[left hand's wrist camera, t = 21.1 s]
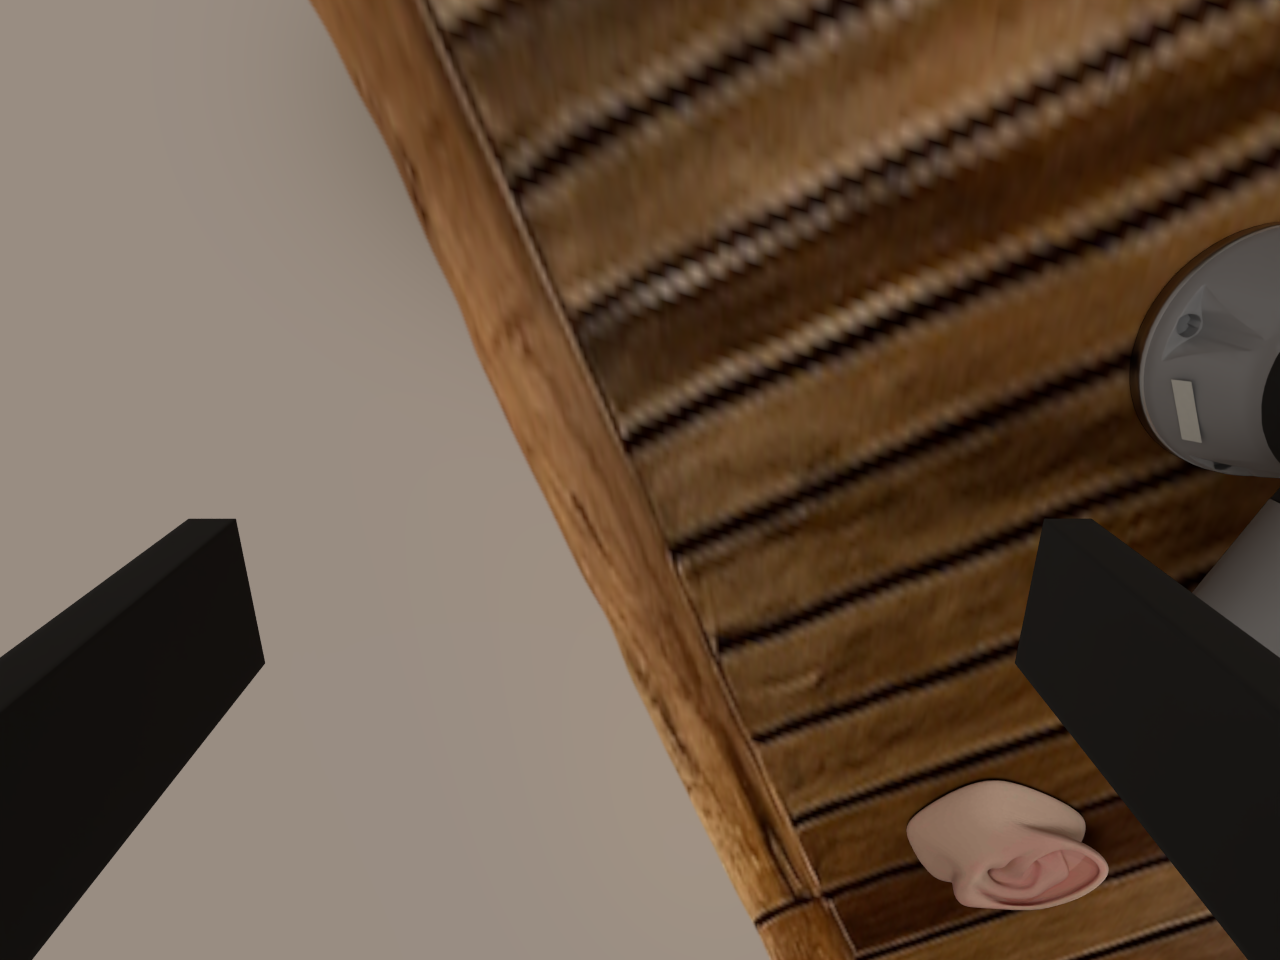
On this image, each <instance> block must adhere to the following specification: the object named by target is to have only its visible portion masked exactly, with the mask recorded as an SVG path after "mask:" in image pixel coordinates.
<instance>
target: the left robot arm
mask: <svg viewBox="0 0 1280 960" xmlns="http://www.w3.org/2000/svg"><path fill="white" fill-rule="evenodd" d="M1130 388H1131V396H1132V400H1133V404H1134V407H1135V410H1136V413H1137V415H1138V417H1139V419H1140V421H1141V423H1142V425H1143V426H1144V428H1145V429H1146V431H1147V432H1148V434H1149V435H1150V436H1151V437H1152V438H1153V439H1154V440H1155V441H1156V442H1157V443H1158V444H1159V445H1160V446H1162V447H1163V448H1164V449H1166V450H1167V451H1169V452H1170V453H1172V454H1174V455H1176V456H1178V457H1180V458H1182V459H1184V460H1186V461H1188V462H1190V463H1192V464H1194V465H1196V466H1199V467H1202V468H1205V469H1209V470H1212V471H1216V472H1220V473H1224V474H1231V475H1241V476H1257V477H1270V478H1280V222H1274V223H1267V224H1263V225H1259V226H1255V227H1252V228H1249V229H1246V230H1243V231H1240V232H1238V233H1235V234H1233V235H1231V236H1229V237H1227V238H1225V239H1223V240H1221V241H1219V242H1217V243H1215V244H1214V245H1212V246H1211V247H1209V248H1208V249H1206V250H1204V251H1203V252H1202V253H1200V254H1199V255H1198V256H1196V257H1195V258H1194V259H1192V260H1191V261H1190V262H1189V263H1188V264H1187V265H1185V266H1184V267H1183V268H1182V269H1181V270H1180V271H1179V272H1178V273H1177V274H1176V275H1175V276H1174V277H1173V278H1172V279H1171V280H1170V282H1169V283H1168V284H1167V285H1166V286H1165V288H1164V289H1163V290H1162V291H1161V293H1160V294H1159V295H1158V297H1157V298H1156V300H1155V301H1154V303H1153V304H1152V306H1151V308H1150V309H1149V311H1148V313H1147V315H1146V317H1145V319H1144V321H1143V323H1142V325H1141V327H1140V330H1139V333H1138V335H1137V338H1136V341H1135V345H1134V348H1133V353H1132V358H1131V366H1130ZM264 664H265V660H264V655H263V650H262V645H261V641H260V635H259V631H258V626H257V621H256V616H255V611H254V606H253V601H252V596H251V591H250V586H249V581H248V576H247V571H246V567H245V562H244V557H243V552H242V547H241V542H240V537H239V532H238V527H237V522H236V519H188V520H186V521H185V522H184V523H182V524H181V525H180V526H178V527H177V528H176V529H174V530H173V531H171V532H170V533H169V534H167V535H166V536H165V537H163V538H162V539H161V540H159V541H158V542H156V543H155V544H154V545H152V546H151V547H150V548H148V549H147V550H146V551H144V552H143V553H142V554H140V555H139V556H137V557H136V558H135V559H133V560H132V561H131V562H129V563H128V564H127V565H125V566H124V567H123V568H121V569H120V570H119V571H117V572H116V573H114V574H113V575H112V576H110V577H109V578H108V579H106V580H105V581H104V582H102V583H101V584H100V585H98V586H97V587H95V588H94V589H93V590H91V591H90V592H89V593H87V594H86V595H85V596H83V597H82V598H80V599H79V600H78V601H76V602H75V603H74V604H72V605H71V606H70V607H68V608H67V609H66V610H64V611H63V612H61V613H60V614H59V615H57V616H56V617H55V618H53V619H52V620H51V621H49V622H48V623H47V624H45V625H44V626H42V627H41V628H40V629H38V630H37V631H36V632H34V633H33V634H32V635H30V636H29V637H28V638H26V639H25V640H23V641H22V642H21V643H19V644H18V645H17V646H15V647H14V648H13V649H11V650H10V651H8V652H7V653H6V654H4V655H3V656H2V657H0V960H32V959H33V958H34V957H35V955H36V954H37V953H38V951H39V950H40V949H41V948H42V946H43V945H44V944H45V943H46V941H47V940H48V939H49V937H50V936H51V935H52V934H53V932H54V931H55V930H56V929H57V927H58V926H59V925H60V923H61V922H62V921H63V920H64V918H65V917H66V916H67V915H68V913H69V912H70V911H71V910H72V908H73V907H74V906H75V904H76V903H77V902H78V901H79V899H80V898H81V897H82V895H83V894H84V893H85V892H86V890H87V889H88V888H89V887H90V885H91V884H92V883H93V882H94V880H95V879H96V878H97V876H98V875H99V874H100V873H101V871H102V870H103V869H104V868H105V866H106V865H107V864H108V862H109V861H110V860H111V859H112V857H113V856H114V855H115V854H116V852H117V851H118V850H119V848H120V847H121V846H122V845H123V843H124V842H125V841H126V839H127V838H128V837H129V836H130V834H131V833H132V832H133V831H134V829H135V828H136V827H137V826H138V824H139V823H140V822H141V820H142V819H143V818H144V817H145V815H146V814H147V813H148V812H149V810H150V809H151V808H152V806H153V805H154V804H155V803H156V801H157V800H158V799H159V798H160V796H161V795H162V794H163V792H164V791H165V790H166V789H167V787H168V786H169V785H170V784H171V782H172V781H173V780H174V778H175V777H176V776H177V775H178V773H179V772H180V771H181V770H182V768H183V767H184V766H185V764H186V763H187V762H188V761H189V759H190V758H191V757H192V756H193V754H194V753H195V752H196V751H197V749H198V748H199V747H200V745H201V744H202V743H203V742H204V740H205V739H206V738H207V736H208V735H209V734H210V733H211V731H212V730H213V729H214V728H215V726H216V725H217V724H218V722H219V721H220V720H221V719H222V717H223V716H224V715H225V714H226V712H227V711H228V710H229V708H230V707H231V706H232V705H233V703H234V702H235V701H236V700H237V698H238V697H239V696H240V695H241V693H242V692H243V691H244V689H245V688H246V687H247V686H248V684H249V683H250V682H251V681H252V679H253V678H254V677H255V675H256V674H257V673H258V672H259V670H260V669H261V668H262V667H263V665H264ZM1015 664H1016V665H1017V667H1018V668H1019V669H1020V670H1021V672H1022V673H1023V674H1024V675H1025V677H1026V678H1027V679H1028V681H1029V682H1030V683H1031V684H1032V686H1033V687H1034V688H1035V689H1036V691H1037V692H1038V693H1039V695H1040V696H1041V697H1042V698H1043V700H1044V701H1045V702H1046V703H1047V705H1048V706H1049V707H1050V709H1051V710H1052V711H1053V712H1054V714H1055V715H1056V716H1057V717H1058V719H1059V720H1060V721H1061V723H1062V724H1063V725H1064V726H1065V728H1066V729H1067V730H1068V731H1069V733H1070V734H1071V735H1072V737H1073V738H1074V739H1075V740H1076V742H1077V743H1078V744H1079V745H1080V747H1081V748H1082V749H1083V751H1084V752H1085V753H1086V754H1087V756H1088V757H1089V758H1090V759H1091V761H1092V762H1093V763H1094V765H1095V766H1096V767H1097V768H1098V770H1099V771H1100V772H1101V773H1102V775H1103V776H1104V777H1105V778H1106V780H1107V781H1108V782H1109V784H1110V785H1111V786H1112V787H1113V789H1114V790H1115V791H1116V792H1117V794H1118V795H1119V796H1120V798H1121V799H1122V800H1123V801H1124V803H1125V804H1126V805H1127V806H1128V808H1129V809H1130V810H1131V812H1132V813H1133V814H1134V815H1135V817H1136V818H1137V819H1138V820H1139V822H1140V823H1141V824H1142V826H1143V827H1144V828H1145V829H1146V831H1147V832H1148V833H1149V834H1150V836H1151V837H1152V838H1153V840H1154V841H1155V842H1156V843H1157V845H1158V846H1159V847H1160V848H1161V850H1162V851H1163V852H1164V854H1165V855H1166V856H1167V857H1168V859H1169V860H1170V861H1171V862H1172V864H1173V865H1174V866H1175V868H1176V869H1177V870H1178V871H1179V873H1180V874H1181V875H1182V876H1183V878H1184V879H1185V880H1186V882H1187V883H1188V884H1189V885H1190V887H1191V888H1192V889H1193V890H1194V892H1195V893H1196V894H1197V896H1198V897H1199V898H1200V899H1201V901H1202V902H1203V903H1204V904H1205V906H1206V907H1207V908H1208V910H1209V911H1210V912H1211V913H1212V915H1213V916H1214V917H1215V918H1216V920H1217V921H1218V922H1219V923H1220V925H1221V926H1222V927H1223V929H1224V930H1225V931H1226V932H1227V934H1228V935H1229V936H1230V937H1231V939H1232V940H1233V941H1234V943H1235V944H1236V945H1237V946H1238V948H1239V949H1240V950H1241V951H1242V953H1243V954H1244V955H1245V957H1246V958H1247V959H1248V960H1280V488H1279V489H1278V490H1277V491H1276V493H1275V494H1274V495H1273V496H1272V497H1271V498H1270V499H1269V500H1268V501H1267V502H1266V504H1265V505H1264V506H1263V507H1262V508H1261V510H1260V511H1259V512H1258V513H1257V514H1256V516H1255V517H1254V518H1253V519H1252V521H1251V522H1250V523H1249V524H1248V525H1247V527H1246V528H1245V529H1244V530H1243V531H1242V533H1241V534H1240V535H1239V536H1238V538H1237V539H1236V540H1235V541H1234V542H1233V544H1232V545H1231V546H1230V547H1229V548H1228V550H1227V551H1226V552H1225V553H1224V554H1223V556H1222V557H1221V558H1220V559H1219V561H1218V562H1217V563H1216V564H1215V565H1214V567H1213V568H1212V569H1211V570H1210V571H1209V573H1208V574H1207V575H1206V576H1205V577H1204V579H1203V580H1202V581H1201V582H1200V584H1199V585H1198V586H1197V587H1196V588H1195V590H1194V591H1193V592H1192V593H1191V592H1190V591H1189V590H1187V589H1186V588H1185V587H1183V586H1182V585H1181V584H1179V583H1178V582H1176V581H1175V580H1174V579H1172V578H1171V577H1170V576H1168V575H1167V574H1166V573H1164V572H1163V571H1162V570H1160V569H1159V568H1157V567H1156V566H1155V565H1153V564H1152V563H1151V562H1149V561H1148V560H1147V559H1145V558H1144V557H1143V556H1141V555H1140V554H1138V553H1137V552H1136V551H1134V550H1133V549H1132V548H1130V547H1129V546H1128V545H1126V544H1125V543H1124V542H1122V541H1121V540H1119V539H1118V538H1117V537H1115V536H1114V535H1113V534H1111V533H1110V532H1109V531H1107V530H1106V529H1104V528H1103V527H1102V526H1100V525H1099V524H1098V523H1096V522H1095V521H1094V520H1092V519H1044V522H1043V527H1042V532H1041V537H1040V542H1039V547H1038V552H1037V557H1036V562H1035V567H1034V571H1033V576H1032V581H1031V586H1030V591H1029V596H1028V601H1027V606H1026V611H1025V616H1024V621H1023V626H1022V631H1021V635H1020V640H1019V645H1018V650H1017V655H1016V660H1015Z"/></svg>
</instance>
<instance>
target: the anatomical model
mask: <svg viewBox="0 0 1280 960" xmlns="http://www.w3.org/2000/svg"><path fill="white" fill-rule="evenodd" d="M1085 830H1086V825H1085V821H1084V819H1083V817H1082V816H1081V815H1080V814H1079V813H1078V812H1077V811H1075V810H1074V809H1072V808H1071V807H1069V806H1068V805H1066V804H1064V803H1063V802H1061V801H1059V800H1057V799H1055V798H1053V797H1050V796H1048V795H1046V794H1043V793H1041V792H1039V791H1036V790H1034V789H1031V788H1028V787H1025V786H1022V785H1019V784H1015V783H1011V782H1006V781H998V780H991V781H982V782H977V783H974V784H970V785H967V786H965V787H962V788H959V789H957V790H955V791H953V792H951V793H949V794H947V795H945V796H943V797H941V798H940V799H938V800H936V801H935V802H933V803H931V804H930V805H928V806H927V807H925V808H924V809H923V810H921V811H920V812H919V813H917V814H916V815H915V816H914V817H913V818H912V819H911V820H910V822H909V824H908V826H907V836H908V839H909V842H910V844H911V846H912V848H913V850H914V852H915V853H916V855H917V857H918V859H919V860H920V862H921V863H922V864H923V866H924V867H925V868H926V869H927V870H928V871H929V872H930V873H931V874H932V875H933V876H934V877H936V878H938V879H940V880H943V881H947V882H952V884H953V890H954V894H955V897H956V898H957V900H958V901H959V902H960V903H961V904H963V905H965V906H969V907H978V908H994V909H1010V910H1034V909H1043V908H1049V907H1052V906H1056V905H1060V904H1063V903H1066V902H1069V901H1072V900H1075V899H1077V898H1079V897H1081V896H1083V895H1085V894H1087V893H1089V892H1090V891H1092V890H1093V889H1095V888H1096V887H1097V886H1098V885H1100V884H1101V883H1102V882H1103V881H1104V879H1105V878H1106V876H1107V874H1108V865H1107V863H1106V861H1105V859H1104V858H1103V857H1102V856H1101V855H1100V854H1099V853H1098V852H1097V851H1095V850H1094V849H1092V848H1091V847H1089V846H1087V845H1086V844H1084V843H1082V839H1083V837H1084V834H1085Z"/></svg>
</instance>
